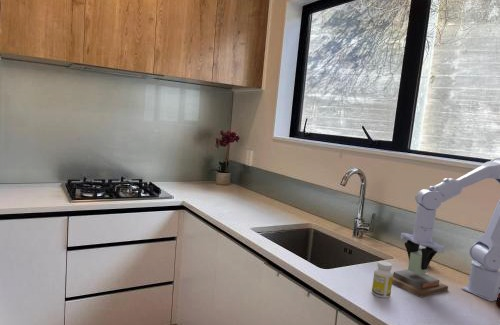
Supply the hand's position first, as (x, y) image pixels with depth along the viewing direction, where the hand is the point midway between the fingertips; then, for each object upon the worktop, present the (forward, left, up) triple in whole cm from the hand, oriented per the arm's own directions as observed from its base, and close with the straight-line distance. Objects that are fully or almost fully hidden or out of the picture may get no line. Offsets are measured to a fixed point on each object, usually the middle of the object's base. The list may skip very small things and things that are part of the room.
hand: (417, 266), depth 125 cm
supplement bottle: (-1, +18, -6) cm, 19 cm away
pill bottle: (+12, -21, -6) cm, 25 cm away
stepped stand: (0, 0, -6) cm, 6 cm away
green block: (0, 0, -2) cm, 2 cm away
